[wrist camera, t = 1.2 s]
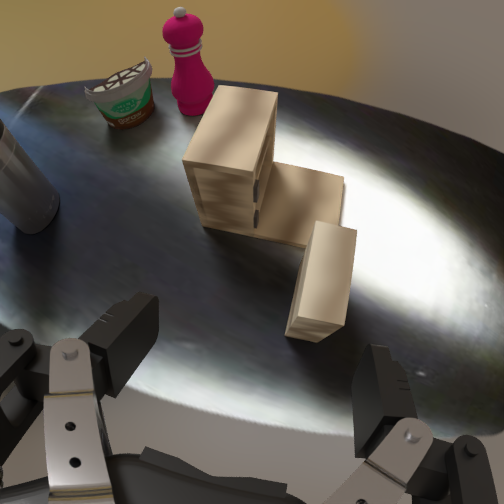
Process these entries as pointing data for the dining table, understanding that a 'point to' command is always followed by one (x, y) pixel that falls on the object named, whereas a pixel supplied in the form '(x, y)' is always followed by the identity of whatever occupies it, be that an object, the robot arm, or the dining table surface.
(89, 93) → the food container
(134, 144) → the dining table surface
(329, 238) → the door
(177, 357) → the dining table surface
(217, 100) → the cabinet
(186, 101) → the pepper mill
